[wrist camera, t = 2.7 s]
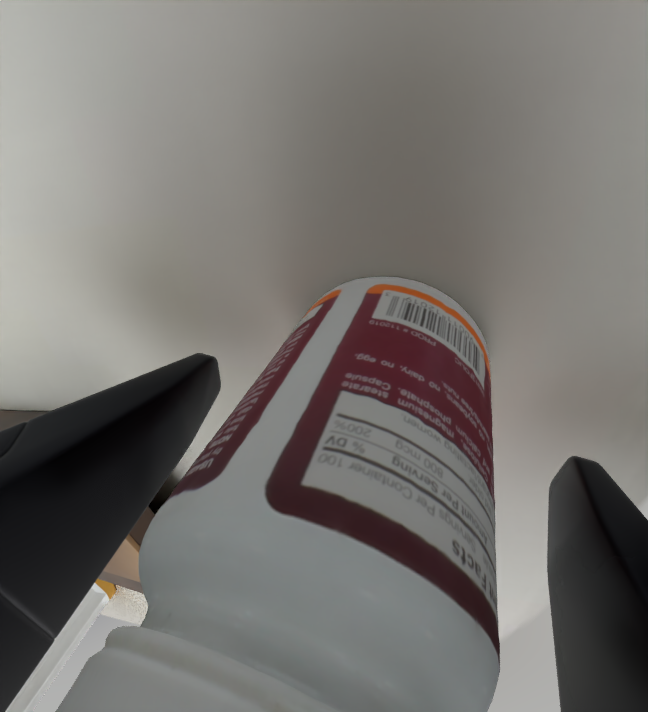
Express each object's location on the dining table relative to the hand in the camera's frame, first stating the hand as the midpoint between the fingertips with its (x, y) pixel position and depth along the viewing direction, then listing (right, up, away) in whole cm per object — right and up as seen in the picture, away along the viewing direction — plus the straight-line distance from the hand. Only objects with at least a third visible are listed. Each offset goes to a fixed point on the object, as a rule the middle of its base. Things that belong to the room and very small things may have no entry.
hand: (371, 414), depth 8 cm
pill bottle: (+1, +1, +2) cm, 2 cm away
